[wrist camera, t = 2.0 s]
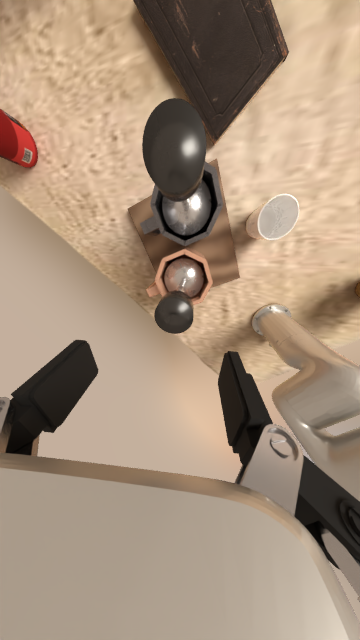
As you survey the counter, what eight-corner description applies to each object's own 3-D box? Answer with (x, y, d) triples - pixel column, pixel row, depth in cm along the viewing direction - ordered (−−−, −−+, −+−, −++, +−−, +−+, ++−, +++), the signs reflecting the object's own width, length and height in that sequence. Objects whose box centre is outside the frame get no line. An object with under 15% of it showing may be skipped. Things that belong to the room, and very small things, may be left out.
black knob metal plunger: (208, 290, 33) (221, 337, 17) (173, 302, 36) (156, 354, 19) (196, 251, 30) (199, 263, 13) (158, 267, 32) (120, 294, 15)
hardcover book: (213, 149, 33) (214, 143, 31) (137, 17, 26) (132, -2, 24) (283, 63, 27) (291, 48, 25) (209, -141, 20) (211, -185, 18)
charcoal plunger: (216, 223, 27) (250, 195, 11) (173, 242, 29) (147, 244, 13) (202, 163, 23) (223, -24, 7) (155, 190, 26) (83, 97, 9)
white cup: (264, 244, 40) (283, 245, 32) (238, 235, 40) (250, 233, 31) (281, 210, 37) (308, 201, 28) (252, 200, 36) (271, 187, 27)
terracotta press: (210, 280, 45) (217, 297, 31) (167, 295, 49) (156, 316, 35) (198, 241, 40) (201, 241, 27) (152, 261, 44) (133, 270, 30)
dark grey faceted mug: (216, 232, 39) (227, 227, 25) (166, 254, 42) (153, 259, 29) (203, 179, 34) (210, 137, 20) (148, 209, 38) (123, 190, 24)
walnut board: (238, 276, 45) (239, 277, 44) (169, 300, 51) (169, 301, 50) (215, 161, 33) (216, 158, 32) (129, 209, 39) (127, 208, 38)
